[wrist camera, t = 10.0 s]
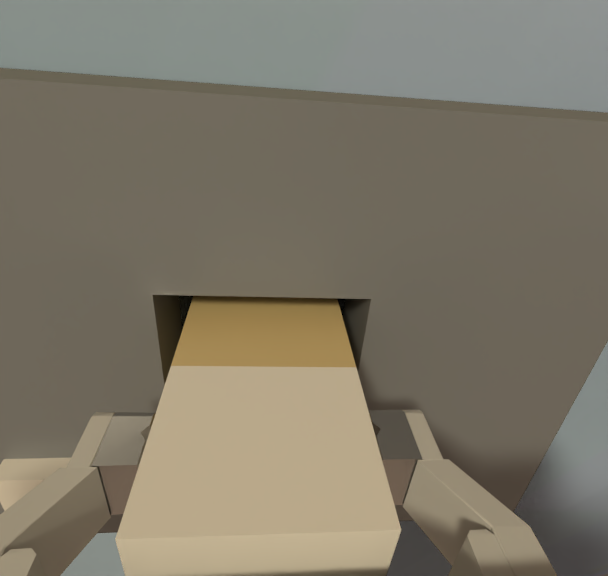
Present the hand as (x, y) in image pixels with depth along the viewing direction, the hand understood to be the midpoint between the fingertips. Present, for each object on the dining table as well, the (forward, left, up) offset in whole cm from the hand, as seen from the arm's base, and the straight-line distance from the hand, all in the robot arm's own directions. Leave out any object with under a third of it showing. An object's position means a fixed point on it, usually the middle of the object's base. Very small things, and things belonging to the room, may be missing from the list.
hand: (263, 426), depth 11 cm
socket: (0, 0, -5) cm, 5 cm away
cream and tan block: (0, 0, -5) cm, 5 cm away
